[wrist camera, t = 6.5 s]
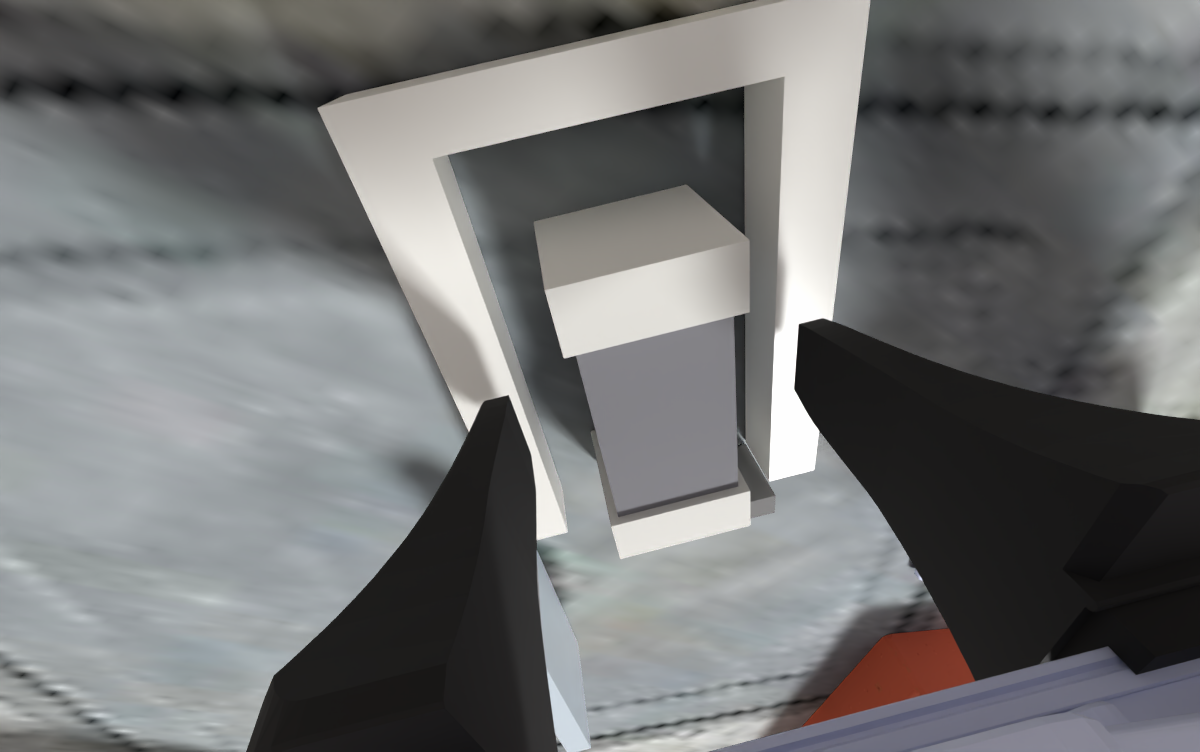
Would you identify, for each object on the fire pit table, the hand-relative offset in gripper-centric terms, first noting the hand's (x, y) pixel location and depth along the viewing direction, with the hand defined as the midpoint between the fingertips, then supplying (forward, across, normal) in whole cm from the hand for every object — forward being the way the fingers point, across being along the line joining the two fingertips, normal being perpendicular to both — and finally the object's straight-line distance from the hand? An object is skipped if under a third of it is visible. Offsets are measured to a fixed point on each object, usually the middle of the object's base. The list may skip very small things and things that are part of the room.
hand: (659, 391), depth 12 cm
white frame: (+3, 0, 0) cm, 3 cm away
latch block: (+3, -3, +7) cm, 8 cm away
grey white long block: (+3, 0, +1) cm, 3 cm away
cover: (+3, +6, +12) cm, 14 cm away
